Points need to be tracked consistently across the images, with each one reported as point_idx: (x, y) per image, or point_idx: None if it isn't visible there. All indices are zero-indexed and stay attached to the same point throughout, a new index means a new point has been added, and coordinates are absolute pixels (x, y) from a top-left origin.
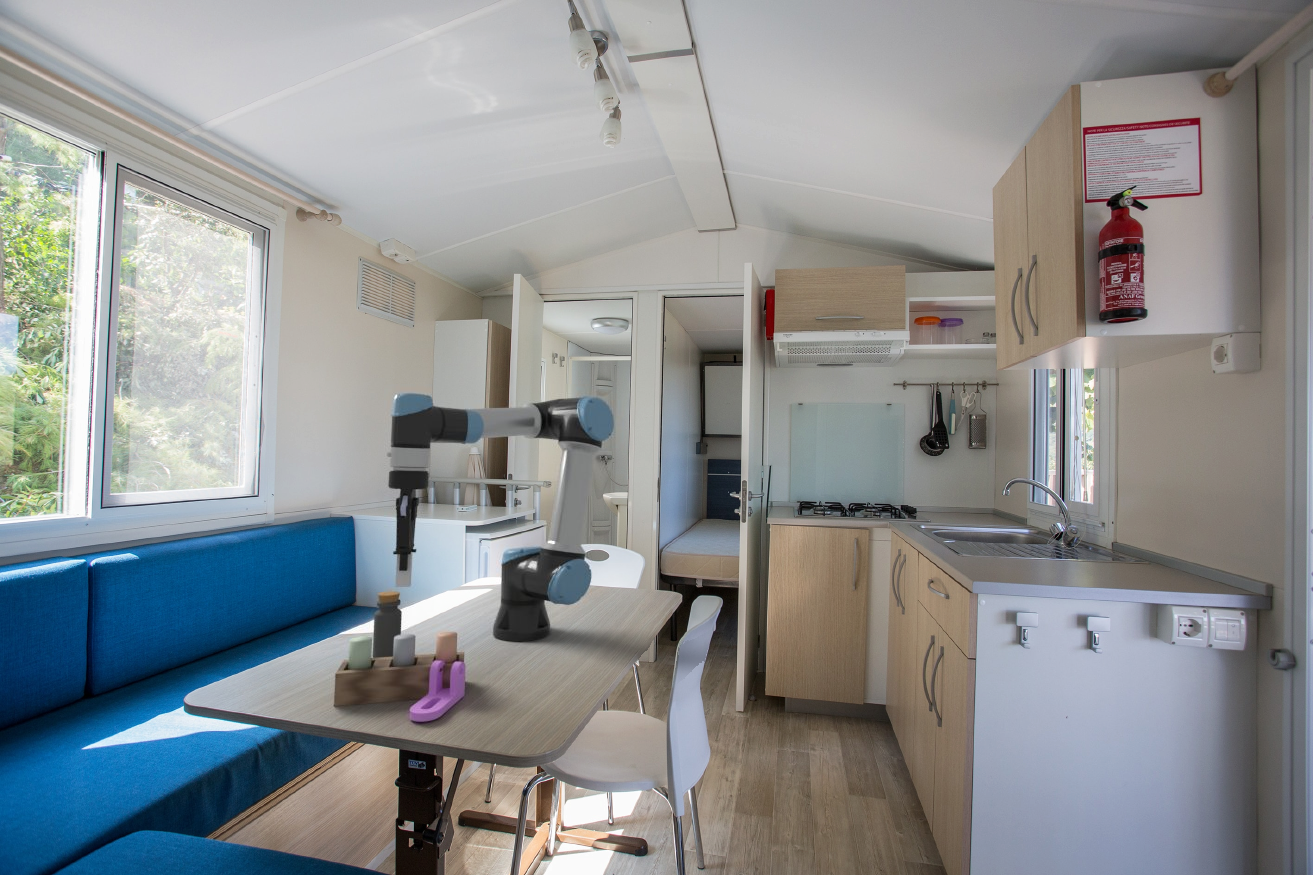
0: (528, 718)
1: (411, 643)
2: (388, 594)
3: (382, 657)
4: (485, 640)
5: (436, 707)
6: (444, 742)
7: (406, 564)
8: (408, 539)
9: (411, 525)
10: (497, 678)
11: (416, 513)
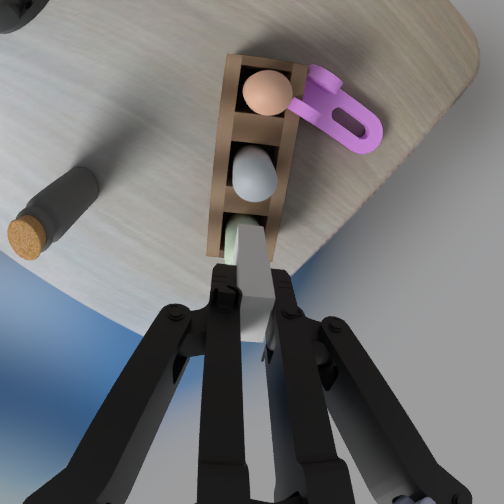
0: (409, 19)
1: (272, 165)
2: (33, 241)
3: (211, 201)
4: (33, 37)
5: (369, 119)
6: (428, 124)
7: (292, 286)
8: (372, 368)
9: (330, 430)
10: (239, 6)
11: (235, 500)
